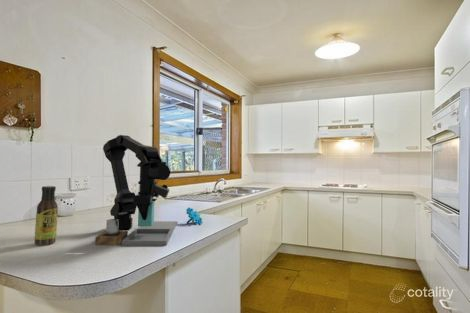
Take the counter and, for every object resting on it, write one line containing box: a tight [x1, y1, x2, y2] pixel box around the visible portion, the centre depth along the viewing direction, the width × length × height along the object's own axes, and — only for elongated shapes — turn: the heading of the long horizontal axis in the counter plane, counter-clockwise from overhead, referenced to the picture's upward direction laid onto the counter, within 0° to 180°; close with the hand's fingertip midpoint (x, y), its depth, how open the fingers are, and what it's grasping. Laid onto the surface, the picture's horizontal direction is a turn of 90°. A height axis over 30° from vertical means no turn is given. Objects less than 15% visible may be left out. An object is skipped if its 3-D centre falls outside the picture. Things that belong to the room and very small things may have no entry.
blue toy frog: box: [185, 207, 203, 225], centre depth 133 cm, size 11×6×10 cm
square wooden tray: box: [94, 230, 129, 246], centre depth 100 cm, size 8×8×3 cm
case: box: [121, 220, 179, 247], centre depth 114 cm, size 15×36×2 cm, turn 6°
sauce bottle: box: [34, 185, 59, 246], centre depth 97 cm, size 6×6×20 cm
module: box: [137, 201, 155, 227], centre depth 109 cm, size 5×5×9 cm
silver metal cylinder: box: [105, 218, 119, 236], centre depth 100 cm, size 4×4×8 cm
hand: (146, 218), depth 109 cm, fingers closed on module, 5 cm apart
